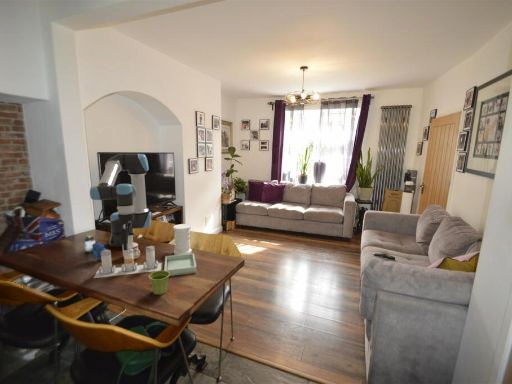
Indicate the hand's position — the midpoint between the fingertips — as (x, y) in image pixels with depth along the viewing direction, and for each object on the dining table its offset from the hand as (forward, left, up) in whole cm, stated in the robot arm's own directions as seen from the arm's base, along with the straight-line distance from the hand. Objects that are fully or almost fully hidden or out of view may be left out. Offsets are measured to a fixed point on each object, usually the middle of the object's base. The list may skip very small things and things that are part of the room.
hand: (128, 250), depth 140 cm
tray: (0, +27, -13) cm, 30 cm away
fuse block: (0, 0, -13) cm, 13 cm away
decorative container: (-22, +29, -13) cm, 39 cm away
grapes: (-20, -20, -13) cm, 31 cm away
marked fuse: (0, 0, -11) cm, 11 cm away
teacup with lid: (-18, -1, -13) cm, 23 cm away
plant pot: (+25, +17, -13) cm, 33 cm away
